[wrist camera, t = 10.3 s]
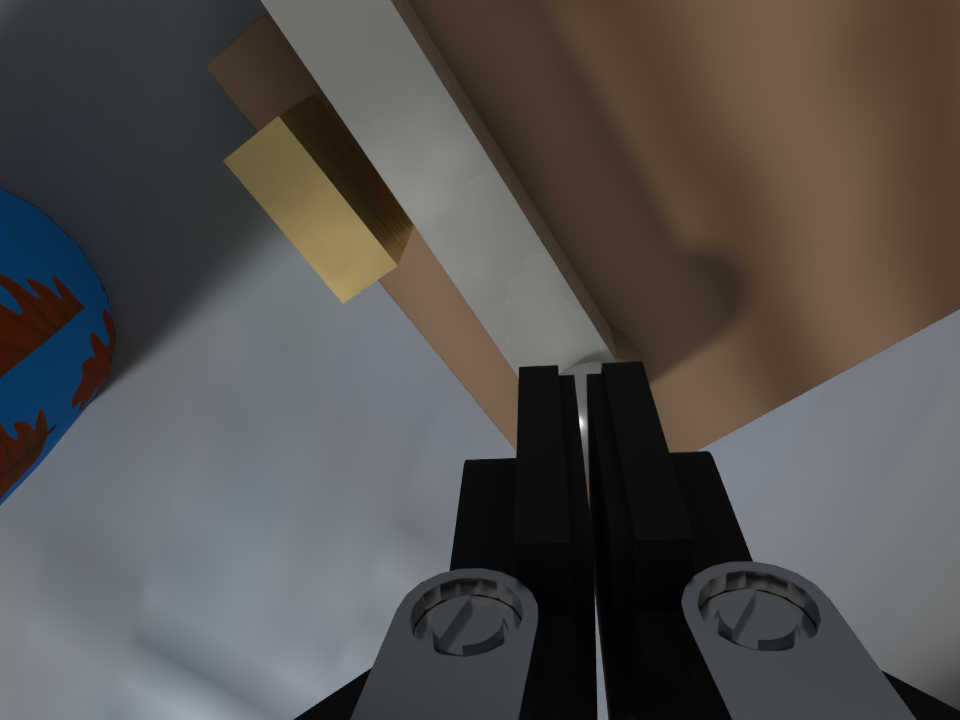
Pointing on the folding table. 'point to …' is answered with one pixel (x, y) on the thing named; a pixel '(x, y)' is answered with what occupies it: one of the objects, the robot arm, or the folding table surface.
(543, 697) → the robot arm
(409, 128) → the lock bar
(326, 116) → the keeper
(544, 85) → the plate
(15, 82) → the folding table surface
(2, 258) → the thermos
